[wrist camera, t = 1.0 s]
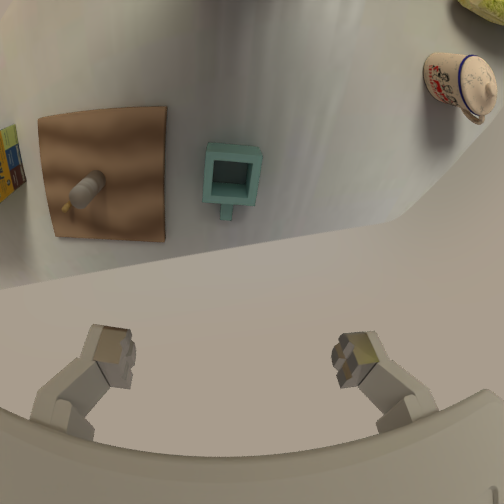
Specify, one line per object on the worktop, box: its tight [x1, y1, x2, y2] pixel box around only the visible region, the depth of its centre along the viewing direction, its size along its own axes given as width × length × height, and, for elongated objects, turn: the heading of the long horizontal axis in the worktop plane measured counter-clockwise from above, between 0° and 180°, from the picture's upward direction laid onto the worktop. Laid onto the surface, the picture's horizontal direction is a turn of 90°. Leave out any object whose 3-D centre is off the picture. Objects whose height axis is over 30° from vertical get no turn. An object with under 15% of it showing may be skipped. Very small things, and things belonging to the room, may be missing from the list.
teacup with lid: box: [424, 53, 497, 125], centre depth 24 cm, size 12×9×12 cm
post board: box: [38, 106, 167, 242], centre depth 31 cm, size 20×20×7 cm
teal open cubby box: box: [202, 142, 263, 221], centre depth 35 cm, size 10×7×5 cm, turn 172°
